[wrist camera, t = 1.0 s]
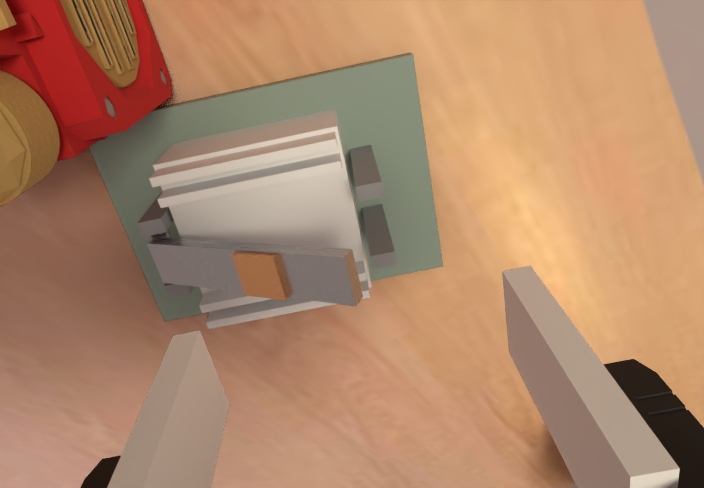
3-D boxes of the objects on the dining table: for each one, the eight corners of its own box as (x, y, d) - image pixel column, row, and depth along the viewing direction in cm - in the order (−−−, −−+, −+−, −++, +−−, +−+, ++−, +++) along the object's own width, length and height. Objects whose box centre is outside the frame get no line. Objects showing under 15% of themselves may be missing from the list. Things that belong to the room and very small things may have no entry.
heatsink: (168, 313, 46) (133, 387, 37) (86, 123, 38) (19, 161, 30) (440, 259, 45) (467, 323, 36) (410, 52, 37) (435, 72, 29)
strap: (176, 270, 37) (153, 287, 36) (159, 227, 36) (134, 243, 34) (370, 290, 30) (353, 313, 28) (358, 237, 28) (339, 258, 26)
